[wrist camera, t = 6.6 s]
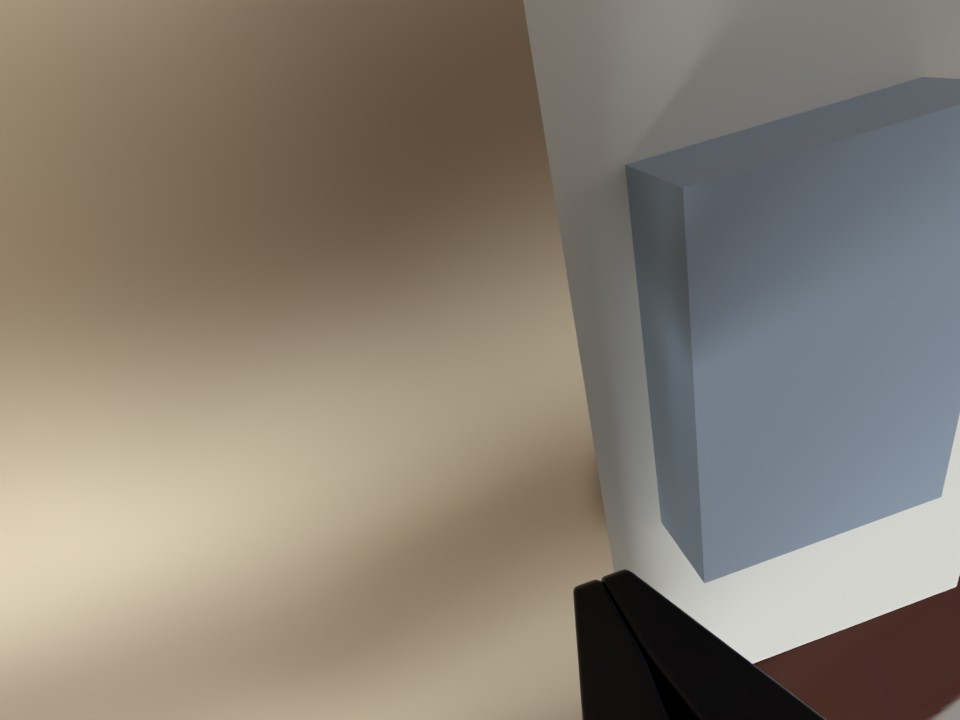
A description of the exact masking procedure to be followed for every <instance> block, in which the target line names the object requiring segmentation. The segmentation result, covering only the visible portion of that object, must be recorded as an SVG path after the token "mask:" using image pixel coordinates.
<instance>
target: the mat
mask: <svg viewBox="0 0 960 720" xmlns="http://www.w3.org/2000/svg"><path fill="white" fill-rule="evenodd" d="M523 3H524V9H525V15H526V21H527V28H528V34H529V40H530V47H531V53H532V59H533V65H534V72H535V78H536V84H537V90H538V97H539V103H540V109H541V116H542V122H543V128H544V134H545V141H546V147H547V153H548V160H549V166H550V172H551V178H552V185H553V191H554V197H555V203H556V210H557V216H558V222H559V229H560V235H561V241H562V247H563V254H564V260H565V266H566V273H567V279H568V285H569V291H570V298H571V304H572V310H573V317H574V323H575V329H576V335H577V342H578V348H579V354H580V360H581V367H582V373H583V379H584V386H585V392H586V398H587V404H588V411H589V417H590V423H591V430H592V436H593V442H594V448H595V455H596V461H597V467H598V473H599V480H600V486H601V492H602V499H603V505H604V511H605V517H606V524H607V530H608V536H609V543H610V549H611V555H612V561H613V568H614V572H617V571H620V570H624V569H626V570H629V571H631V572H632V573H634V574H635V575H637V576H638V577H639V578H641V579H642V580H643V581H644V582H646V583H647V584H648V585H650V586H651V587H652V588H654V589H655V590H656V591H658V592H659V593H660V594H662V595H663V596H664V597H666V598H667V599H668V600H669V601H671V602H672V603H673V604H675V605H676V606H677V607H679V608H680V609H681V610H683V611H684V612H685V613H687V614H688V615H689V616H690V617H692V618H693V619H694V620H696V621H697V622H698V623H700V624H701V625H702V626H704V627H705V628H706V629H708V630H709V631H710V632H712V633H713V634H714V635H715V636H717V637H718V638H719V639H721V640H722V641H723V642H725V643H726V644H727V645H729V646H730V647H731V648H733V649H734V650H735V651H736V652H738V653H739V654H740V655H742V656H743V657H744V658H746V659H747V660H748V661H750V662H751V663H752V664H753V663H756V662H758V661H761V660H764V659H766V658H769V657H772V656H774V655H777V654H780V653H782V652H785V651H787V650H790V649H793V648H795V647H798V646H801V645H803V644H806V643H809V642H811V641H814V640H817V639H819V638H822V637H825V636H827V635H830V634H832V633H835V632H838V631H840V630H843V629H846V628H848V627H851V626H854V625H856V624H859V623H862V622H864V621H867V620H869V619H872V618H875V617H877V616H880V615H883V614H885V613H888V612H891V611H893V610H896V609H899V608H901V607H904V606H907V605H909V604H912V603H914V602H917V601H920V600H922V599H925V598H928V597H930V596H933V595H936V594H938V593H941V592H944V591H946V590H949V589H951V588H954V587H956V586H957V582H958V579H959V575H960V414H959V419H958V423H957V428H956V433H955V437H954V442H953V446H952V451H951V455H950V460H949V464H948V469H947V474H946V478H945V483H944V487H943V492H942V496H941V497H940V498H937V499H934V500H932V501H929V502H926V503H923V504H921V505H918V506H915V507H912V508H910V509H907V510H904V511H902V512H899V513H896V514H893V515H891V516H888V517H885V518H882V519H880V520H877V521H874V522H871V523H869V524H866V525H863V526H860V527H858V528H855V529H852V530H849V531H847V532H844V533H841V534H839V535H836V536H833V537H830V538H828V539H825V540H822V541H819V542H817V543H814V544H811V545H808V546H806V547H803V548H800V549H797V550H795V551H792V552H789V553H786V554H784V555H781V556H778V557H775V558H773V559H770V560H767V561H765V562H762V563H759V564H756V565H754V566H751V567H748V568H745V569H743V570H740V571H737V572H734V573H732V574H729V575H726V576H723V577H721V578H718V579H715V580H712V581H710V582H707V583H704V582H703V581H702V579H701V578H700V576H699V575H698V574H697V572H696V571H695V569H694V568H693V566H692V565H691V564H690V562H689V561H688V559H687V558H686V557H685V555H684V554H683V552H682V551H681V550H680V548H679V547H678V545H677V544H676V542H675V541H674V540H673V538H672V537H671V535H670V534H669V533H668V531H667V530H666V528H665V527H664V525H663V524H662V523H661V516H660V506H659V496H658V486H657V476H656V466H655V456H654V447H653V437H652V427H651V417H650V407H649V397H648V387H647V377H646V367H645V358H644V348H643V338H642V328H641V318H640V308H639V298H638V288H637V278H636V269H635V259H634V249H633V239H632V229H631V219H630V209H629V199H628V189H627V180H626V170H625V165H626V164H629V163H632V162H636V161H639V160H643V159H646V158H649V157H653V156H656V155H660V154H663V153H666V152H670V151H673V150H677V149H680V148H683V147H687V146H690V145H694V144H697V143H700V142H704V141H707V140H711V139H714V138H717V137H721V136H724V135H728V134H731V133H735V132H738V131H741V130H745V129H748V128H752V127H755V126H758V125H762V124H765V123H769V122H772V121H775V120H779V119H782V118H786V117H789V116H792V115H796V114H799V113H803V112H806V111H809V110H813V109H816V108H820V107H823V106H826V105H830V104H833V103H837V102H840V101H843V100H847V99H850V98H854V97H857V96H860V95H864V94H867V93H871V92H874V91H877V90H881V89H884V88H888V87H891V86H894V85H898V84H901V83H905V82H908V81H911V80H915V79H918V78H922V77H933V78H953V79H960V0H523Z"/></svg>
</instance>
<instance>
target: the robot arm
mask: <svg viewBox="0 0 960 720" xmlns="http://www.w3.org/2000/svg"><path fill="white" fill-rule="evenodd" d="M573 599H574V612H575V626H576V640H577V654H578V667H579V681H580V695H581V709H582V720H826V719H825V718H823V717H822V716H821V715H819V714H818V713H817V712H815V711H814V710H813V709H811V708H810V707H809V706H807V705H806V704H805V703H804V702H802V701H801V700H800V699H798V698H797V697H796V696H794V695H793V694H792V693H790V692H789V691H788V690H786V689H785V688H784V687H783V686H781V685H780V684H779V683H777V682H776V681H775V680H773V679H772V678H771V677H769V676H768V675H767V674H765V673H764V672H763V671H761V670H760V669H759V668H758V667H756V666H755V665H754V664H752V663H751V662H750V661H748V660H747V659H746V658H744V657H743V656H742V655H740V654H739V653H738V652H736V651H735V650H734V649H733V648H731V647H730V646H729V645H727V644H726V643H725V642H723V641H722V640H721V639H719V638H718V637H717V636H715V635H714V634H713V633H712V632H710V631H709V630H708V629H706V628H705V627H704V626H702V625H701V624H700V623H698V622H697V621H696V620H694V619H693V618H692V617H690V616H689V615H688V614H687V613H685V612H684V611H683V610H681V609H680V608H679V607H677V606H676V605H675V604H673V603H672V602H671V601H669V600H668V599H667V598H666V597H664V596H663V595H662V594H660V593H659V592H658V591H656V590H655V589H654V588H652V587H651V586H650V585H648V584H647V583H646V582H644V581H643V580H642V579H641V578H639V577H638V576H637V575H635V574H634V573H632V572H631V571H629V570H626V569H624V570H620V571H617V572H614V573H612V574H609V575H606V576H604V577H602V579H601V581H600V580H592V581H589V582H586V583H583V584H581V585H578V586H576V587H575V588H574V590H573Z"/></svg>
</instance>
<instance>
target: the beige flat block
mask: <svg viewBox="0 0 960 720" xmlns="http://www.w3.org/2000/svg"><path fill="white" fill-rule="evenodd" d="M612 573H614V568H613V561H612V555H611V549H610V543H609V536H608V530H607V524H606V517H605V511H604V505H603V499H602V492H601V486H600V480H599V473H598V467H597V461H596V455H595V448H594V442H593V436H592V430H591V423H590V417H589V411H588V404H587V398H586V392H585V386H584V379H583V373H582V367H581V360H580V354H579V348H578V342H577V335H576V329H575V323H574V317H573V310H572V304H571V298H570V291H569V285H568V279H567V273H566V266H565V260H564V254H563V247H562V241H561V235H560V229H559V222H558V216H557V210H556V203H555V197H554V191H553V185H552V178H551V172H550V166H549V160H548V153H547V147H546V141H545V134H544V128H543V122H542V116H541V109H540V103H539V97H538V90H537V84H536V78H535V72H534V65H533V59H532V53H531V47H530V40H529V34H528V28H527V21H526V15H525V9H524V3H523V0H0V720H582V709H581V695H580V681H579V667H578V654H577V640H576V626H575V612H574V599H573V590H574V588H575V587H576V586H578V585H581V584H583V583H586V582H589V581H592V580H600V581H601V579H602V577H604V576H606V575H609V574H612Z"/></svg>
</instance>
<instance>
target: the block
mask: <svg viewBox="0 0 960 720" xmlns="http://www.w3.org/2000/svg"><path fill="white" fill-rule="evenodd" d="M625 170H626V180H627V189H628V199H629V209H630V219H631V229H632V239H633V249H634V259H635V269H636V278H637V288H638V298H639V308H640V318H641V328H642V338H643V348H644V358H645V367H646V377H647V387H648V397H649V407H650V417H651V427H652V437H653V447H654V456H655V466H656V476H657V486H658V496H659V506H660V516H661V523H662V524H663V525H664V527H665V528H666V530H667V531H668V533H669V534H670V535H671V537H672V538H673V540H674V541H675V542H676V544H677V545H678V547H679V548H680V550H681V551H682V552H683V554H684V555H685V557H686V558H687V559H688V561H689V562H690V564H691V565H692V566H693V568H694V569H695V571H696V572H697V574H698V575H699V576H700V578H701V579H702V581H703V582H704V583H707V582H710V581H712V580H715V579H718V578H721V577H723V576H726V575H729V574H732V573H734V572H737V571H740V570H743V569H745V568H748V567H751V566H754V565H756V564H759V563H762V562H765V561H767V560H770V559H773V558H775V557H778V556H781V555H784V554H786V553H789V552H792V551H795V550H797V549H800V548H803V547H806V546H808V545H811V544H814V543H817V542H819V541H822V540H825V539H828V538H830V537H833V536H836V535H839V534H841V533H844V532H847V531H849V530H852V529H855V528H858V527H860V526H863V525H866V524H869V523H871V522H874V521H877V520H880V519H882V518H885V517H888V516H891V515H893V514H896V513H899V512H902V511H904V510H907V509H910V508H912V507H915V506H918V505H921V504H923V503H926V502H929V501H932V500H934V499H937V498H940V497H941V496H942V492H943V487H944V483H945V478H946V474H947V469H948V464H949V460H950V455H951V451H952V446H953V442H954V437H955V433H956V428H957V423H958V419H959V414H960V79H953V78H933V77H922V78H918V79H915V80H911V81H908V82H905V83H901V84H898V85H894V86H891V87H888V88H884V89H881V90H877V91H874V92H871V93H867V94H864V95H860V96H857V97H854V98H850V99H847V100H843V101H840V102H837V103H833V104H830V105H826V106H823V107H820V108H816V109H813V110H809V111H806V112H803V113H799V114H796V115H792V116H789V117H786V118H782V119H779V120H775V121H772V122H769V123H765V124H762V125H758V126H755V127H752V128H748V129H745V130H741V131H738V132H735V133H731V134H728V135H724V136H721V137H717V138H714V139H711V140H707V141H704V142H700V143H697V144H694V145H690V146H687V147H683V148H680V149H677V150H673V151H670V152H666V153H663V154H660V155H656V156H653V157H649V158H646V159H643V160H639V161H636V162H632V163H629V164H626V165H625Z"/></svg>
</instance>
